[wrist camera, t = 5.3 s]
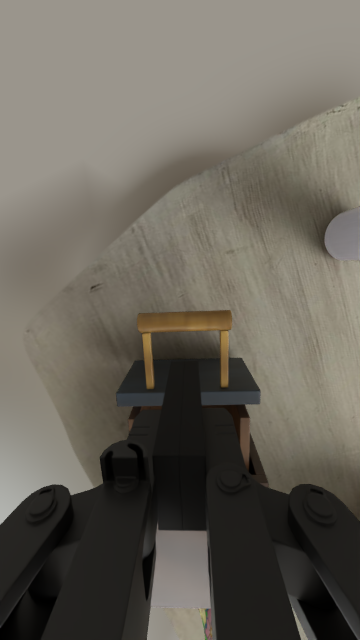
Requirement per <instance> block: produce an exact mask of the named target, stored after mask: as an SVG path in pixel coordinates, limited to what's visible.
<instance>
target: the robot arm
mask: <svg viewBox="0 0 360 640" xmlns="http://www.w3.org/2000/svg"><path fill="white" fill-rule="evenodd" d="M100 464H101V471H102V477H103V484H101V485H99V486H98V487H96V488H93V489H91V490H88V491H84V492H81V493H78V494H74V495H70V493H69V490H68V488H66V487H64V486H63V485H50V486H46V487H43V488H41V489H39V490H37V491H36V492H34V493H32V494H31V495H30V496H29V497H27V498H26V499H25V500H24V501H23V502H22V503H21V504H20V505H19V506H18V507H17V508H16V509H15V510H14V511H13V512H12V513H11V514H10V515H9V516H8V517H7V518H6V519H5V521H4V522H3V523H2V524H1V525H0V640H147V632H148V623H149V615H150V606H151V597H152V589H153V580H154V571H155V563H156V554H157V552H156V531H157V523H158V529H159V530H165V531H207V549H208V574H209V587H210V605H211V623H212V640H301V638H300V635H299V631H298V628H297V624H296V621H295V617H294V614H293V611H292V607H291V604H292V606H293V609H294V611H295V613H296V615H297V617H298V619H299V621H300V624H301V626H302V628H303V630H304V632H305V634H306V636H307V638H308V640H360V521H359V520H358V519H357V518H356V517H355V516H354V515H353V514H352V512H351V511H350V510H349V509H348V508H347V507H346V506H345V505H344V503H343V502H341V501H340V500H339V499H338V498H337V497H336V496H335V495H334V494H332V493H331V492H329V491H327V490H325V489H323V488H322V487H319V486H315V485H311V484H300V485H298V486H296V487H294V488H293V489H292V491H291V492H290V494H286V493H282V492H279V491H276V490H273V489H270V488H268V487H265V486H263V485H262V484H260V483H259V482H257V481H256V480H255V479H254V478H253V477H252V475H251V474H250V473H249V472H248V470H247V468H246V465H245V462H244V458H243V454H242V451H241V447H240V443H239V440H238V436H237V432H236V429H235V426H234V421H233V418H232V415H231V414H230V413H229V412H228V411H227V410H226V409H225V408H202V402H201V389H200V376H199V364H198V361H171V364H170V369H169V374H168V379H167V384H166V389H165V394H164V399H163V404H162V409H161V410H142V411H141V412H140V413H139V414H138V415H137V416H136V417H135V419H134V421H133V424H132V428H131V430H130V432H129V436H128V438H127V440H123V441H119V442H117V443H115V444H112V445H111V446H110V447H108V448H107V449H106V450H104V452H103V453H102V455H101V456H100ZM290 602H291V604H290Z"/></svg>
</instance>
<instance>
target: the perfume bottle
mask: <svg viewBox="0 0 360 640" xmlns="http://www.w3.org/2000/svg"><path fill="white" fill-rule="evenodd" d="M325 246H326V249H327V251H328V252H329V254H330V255H331V256H332V257H334V258H335V259H338V260H341V261H360V206H358V207H355V208H352V209H349V210H347V211H344V212H342V213H340V214H338V215H337V216H336V217H335V218H334V219H333V220H332V221H331V222H330V224H329V225H328V227H327V229H326V232H325Z"/></svg>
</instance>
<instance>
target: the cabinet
mask: <svg viewBox="0 0 360 640" xmlns="http://www.w3.org/2000/svg"><path fill="white" fill-rule="evenodd" d="M249 473H250V474H251V475H252V477H253V478H254V479H255V480H256V481H257V482H259V483H260V484H262V485H263V486H265V487H268V480H267V478H266V475H265V472H264V469H263V467H262V464H261V461H260V458H259V456H258V453H257V450H256V447H255V445H254V442H253V439H252V436H251V434H250V442H249ZM156 552H157V554H156V563H155V571H154V580H153V589H152V597H151V606H150V607H164V608H202V609H211V605H210V587H209V574H208V549H207V531H165V530H159V529H158V523H157V531H156Z"/></svg>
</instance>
